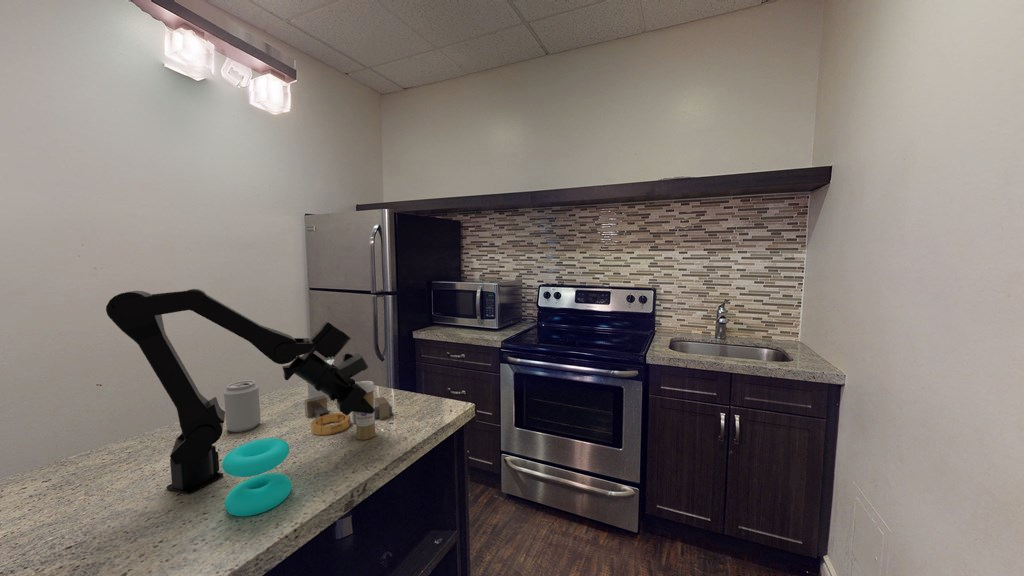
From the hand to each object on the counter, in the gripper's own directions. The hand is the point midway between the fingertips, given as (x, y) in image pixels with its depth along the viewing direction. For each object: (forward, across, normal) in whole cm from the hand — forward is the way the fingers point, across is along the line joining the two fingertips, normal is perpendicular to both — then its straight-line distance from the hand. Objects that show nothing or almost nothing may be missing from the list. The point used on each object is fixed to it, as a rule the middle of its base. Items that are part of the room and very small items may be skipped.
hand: (370, 408), depth 94 cm
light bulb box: (+2, +39, +8) cm, 40 cm away
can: (-14, +26, +23) cm, 37 cm away
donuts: (-12, -15, +22) cm, 29 cm away
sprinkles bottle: (+4, 0, +6) cm, 7 cm away
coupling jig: (+1, +15, +8) cm, 17 cm away
